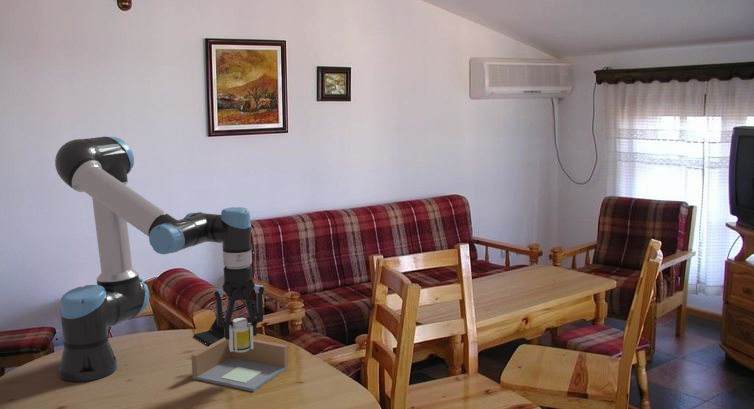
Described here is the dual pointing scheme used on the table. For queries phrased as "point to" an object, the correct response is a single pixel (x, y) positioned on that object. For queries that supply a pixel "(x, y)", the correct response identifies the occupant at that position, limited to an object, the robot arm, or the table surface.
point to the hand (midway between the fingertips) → (241, 348)
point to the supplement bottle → (241, 335)
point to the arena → (240, 364)
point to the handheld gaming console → (212, 333)
